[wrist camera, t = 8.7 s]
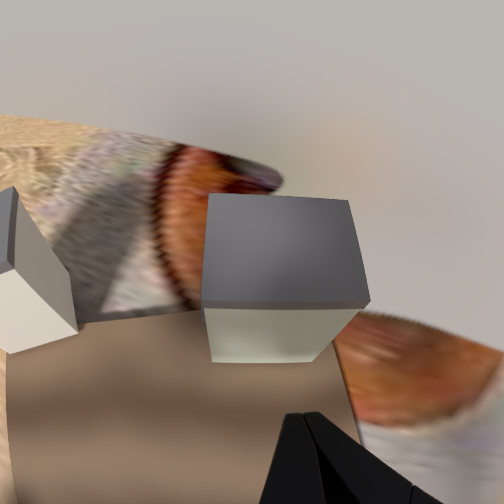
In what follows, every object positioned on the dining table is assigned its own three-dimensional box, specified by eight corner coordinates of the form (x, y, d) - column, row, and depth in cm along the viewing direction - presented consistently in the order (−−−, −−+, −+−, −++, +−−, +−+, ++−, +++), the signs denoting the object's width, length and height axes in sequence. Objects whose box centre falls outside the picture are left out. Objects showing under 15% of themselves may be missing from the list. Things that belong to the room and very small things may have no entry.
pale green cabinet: (312, 362, 16) (370, 300, 9) (207, 363, 15) (193, 299, 9) (306, 291, 18) (348, 200, 12) (210, 289, 18) (203, 193, 11)
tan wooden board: (361, 474, 13) (368, 476, 13) (27, 504, 10) (18, 506, 9) (311, 298, 19) (316, 291, 18) (16, 335, 16) (8, 329, 15)
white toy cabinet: (79, 333, 15) (6, 260, 9) (7, 355, 14) (-77, 297, 8) (69, 272, 17) (13, 185, 11) (3, 296, 16) (-64, 224, 10)
